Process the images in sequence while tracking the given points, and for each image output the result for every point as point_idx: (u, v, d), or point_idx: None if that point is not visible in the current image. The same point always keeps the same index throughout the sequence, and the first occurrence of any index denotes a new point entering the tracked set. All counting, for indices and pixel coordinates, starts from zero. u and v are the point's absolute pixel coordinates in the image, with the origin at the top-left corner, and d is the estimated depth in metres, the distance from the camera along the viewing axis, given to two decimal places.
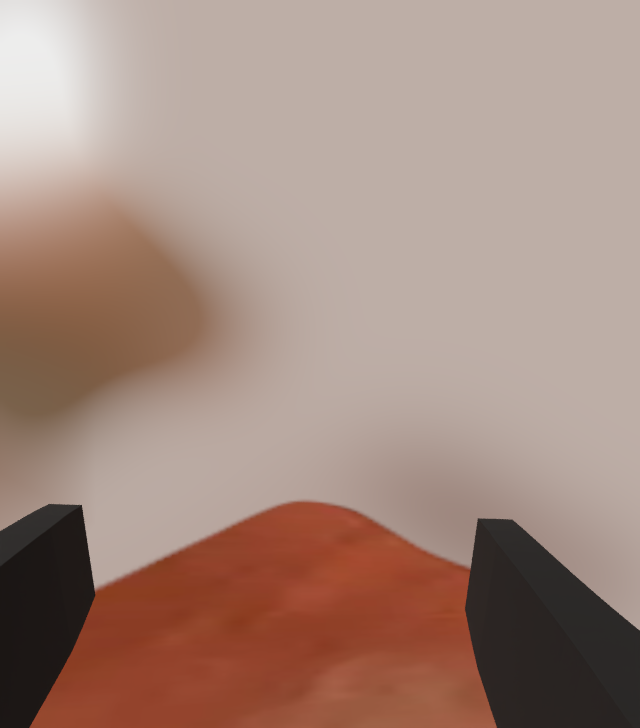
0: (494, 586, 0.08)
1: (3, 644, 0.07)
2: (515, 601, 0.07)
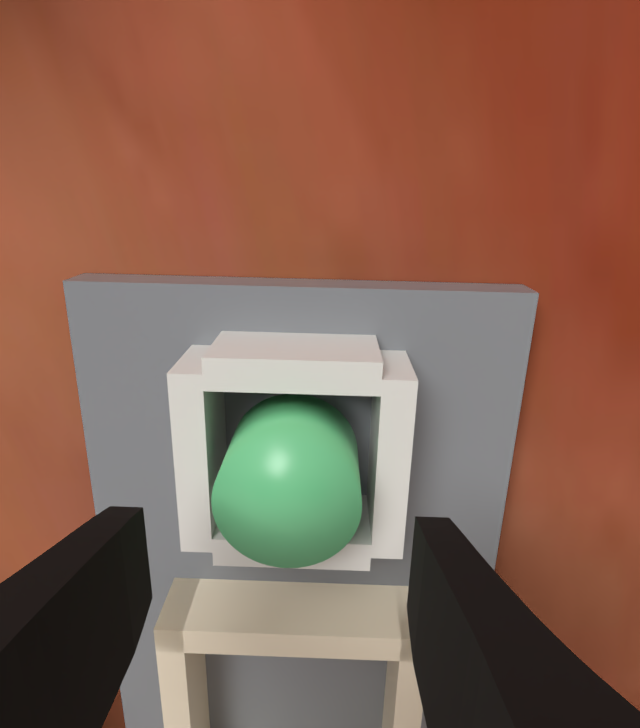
0: (424, 583, 0.08)
1: (81, 647, 0.07)
2: (438, 598, 0.07)
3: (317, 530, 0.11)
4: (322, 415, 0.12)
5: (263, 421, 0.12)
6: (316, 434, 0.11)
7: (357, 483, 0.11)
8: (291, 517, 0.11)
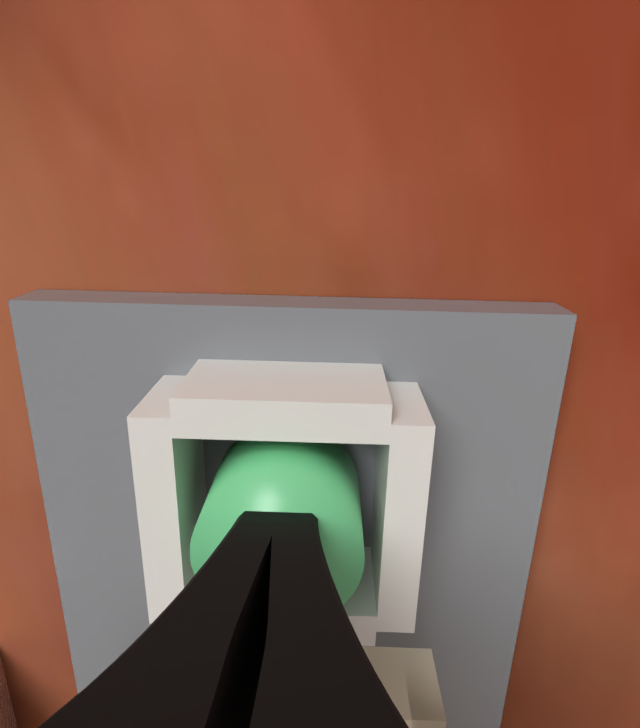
0: None
1: (253, 654, 0.07)
2: None
3: None
4: (319, 449, 0.11)
5: (250, 458, 0.10)
6: (311, 475, 0.09)
7: (359, 532, 0.09)
8: None
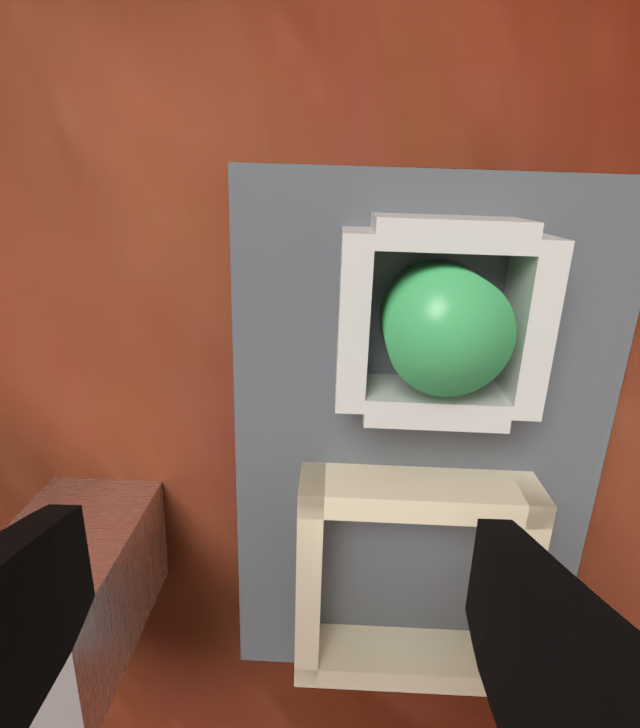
0: (494, 586, 0.08)
1: (3, 644, 0.07)
2: (515, 601, 0.07)
3: (475, 360, 0.13)
4: (471, 271, 0.14)
5: (425, 270, 0.14)
6: (477, 275, 0.13)
7: (513, 316, 0.13)
8: (454, 347, 0.13)
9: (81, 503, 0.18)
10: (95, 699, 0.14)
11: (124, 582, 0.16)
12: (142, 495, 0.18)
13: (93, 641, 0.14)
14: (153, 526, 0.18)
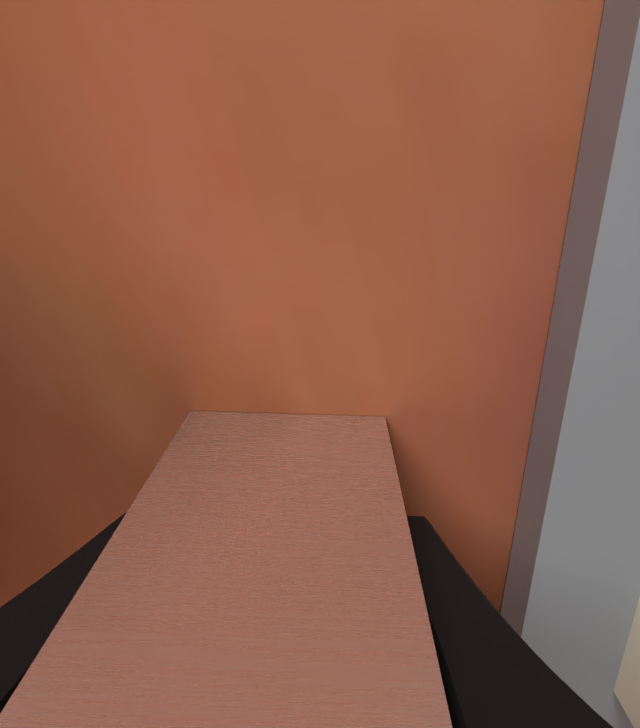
0: None
1: None
2: None
3: None
4: None
5: None
6: None
7: None
8: None
9: (265, 449, 0.09)
10: None
11: None
12: (369, 436, 0.10)
13: None
14: None
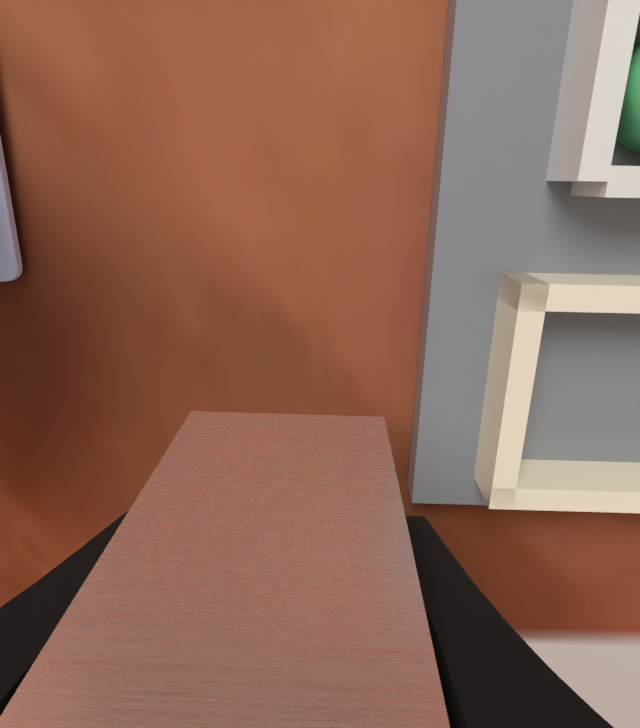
0: None
1: None
2: None
3: None
4: None
5: None
6: None
7: None
8: None
9: (266, 450, 0.09)
10: None
11: None
12: (368, 436, 0.10)
13: None
14: None
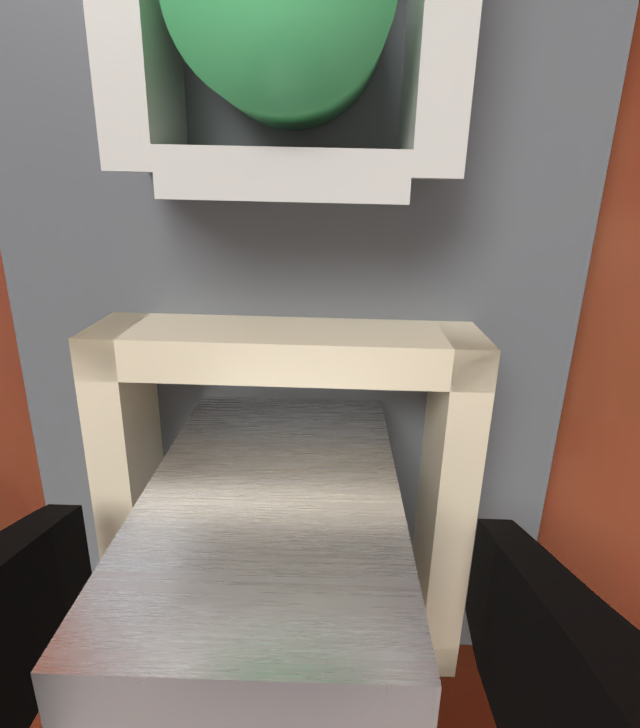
0: (494, 586, 0.08)
1: (3, 644, 0.07)
2: (515, 601, 0.07)
3: (327, 31, 0.07)
4: None
5: None
6: None
7: None
8: (286, 3, 0.07)
9: (271, 428, 0.10)
10: None
11: None
12: (366, 417, 0.11)
13: None
14: None
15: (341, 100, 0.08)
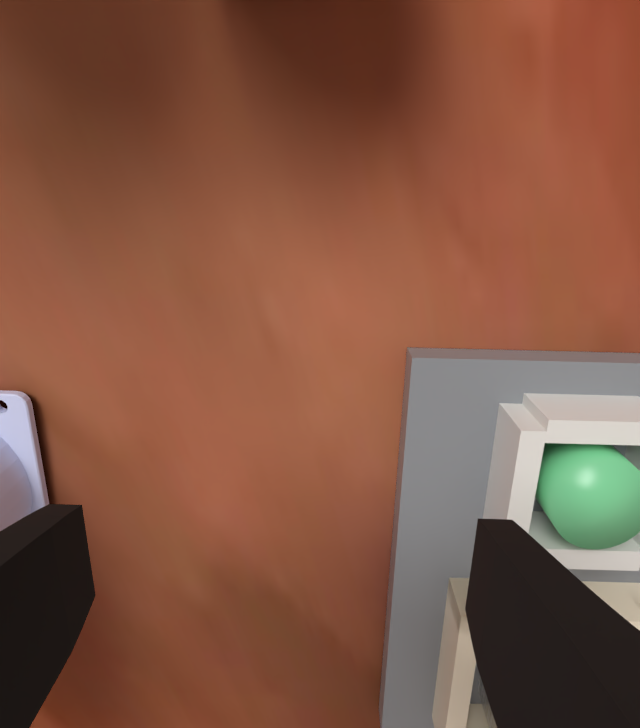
0: (494, 586, 0.08)
1: (3, 644, 0.07)
2: (515, 601, 0.07)
3: (620, 523, 0.17)
4: (609, 445, 0.18)
5: (577, 450, 0.17)
6: (623, 459, 0.17)
7: None
8: (605, 514, 0.17)
9: None
10: None
11: None
12: None
13: None
14: None
15: None
